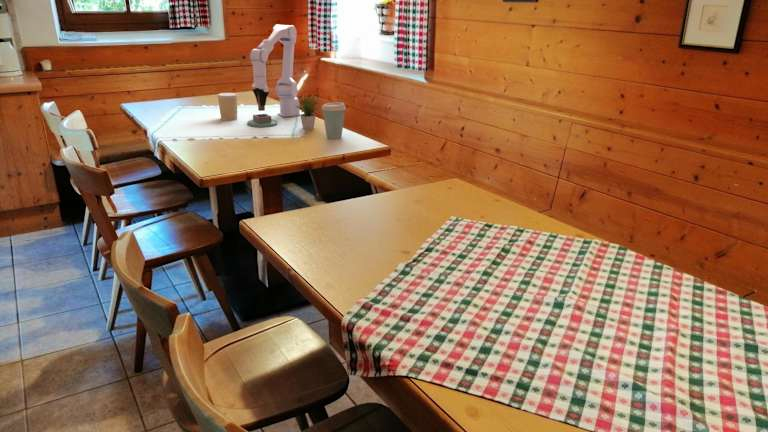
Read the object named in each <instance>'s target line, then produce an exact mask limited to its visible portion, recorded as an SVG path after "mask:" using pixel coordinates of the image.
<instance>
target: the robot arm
mask: <svg viewBox="0 0 768 432" xmlns="http://www.w3.org/2000/svg"><path fill="white" fill-rule="evenodd" d="M297 33H298V31H297V29H296V27H295V25H293V24H291V25H289V24H278V23H277V24H275V25H274V26H273V27H272V33H271V34H270V35H269V37H268V38H267V39H262V42H260V44H259V45H257V47H256V48H253V49H252V50H251V51H250V53H249V58H250V60H251V66H252V71H253V72H252V73H253V82H252V85H251V88H253V89H251V90H252V92H253V94H254V96H255V100H256V103H257V105H258V96H259V101H260V105H261V106H266V103H267V99H268V96H269V94H270V91H269V90H270V89H269V87H268V85H267V68H266V67H267V65H266V64H267V63H266V62H267V61H268V59H269V55H270V53H271V52H272V51H273V50H274V49H275V46H274V45H276V43H277V42H280V43H282V45H283V52H282V53H283V54H282V67H281V69H282V70H281V78H279V79H278V80H277V82H276V86H275V94H276V95H277V97H278V98H279V111H280V112H277V113H276V114H277V115H278V116H281V117H283V118H286V117H296V116H300V115H301V112H300V110H301V109H300V108H297V107H295V106H299V107H300V102H299V100H300V99H299V98H298V97H297V94H298V83H297V82H296V80H294V79H293V72H294V70H293V69H294V58H295V57H294V56H295V44H296V43H297V36H298V35H297ZM297 98H298V99H299V100H298V99H297Z"/></svg>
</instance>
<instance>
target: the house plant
mask: <svg viewBox="0 0 768 432" xmlns="http://www.w3.org/2000/svg"><path fill="white" fill-rule="evenodd" d="M301 98H302V99H300V98H299V97H297V99H298V100H299V104H300V105H301V106H300V105H299V106H295V107H297V108H299V110H301V112H300V115H299V117H300V121H301V125H302V126H301V127H302V129H303V130H309V131H310V130H314V128H315V123H316V114H314V112H315V111H318V112H319V110H318V109H319V108H320V105H319V106H318V104H321V103H323V101H321V99H323V98H318V99H317V95H314V94H312V95H311V97H310V98H309V97H308V95H307V94H305V96H304V95H302V96H301ZM308 98H309V99H308ZM315 105H317V106H315Z"/></svg>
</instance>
